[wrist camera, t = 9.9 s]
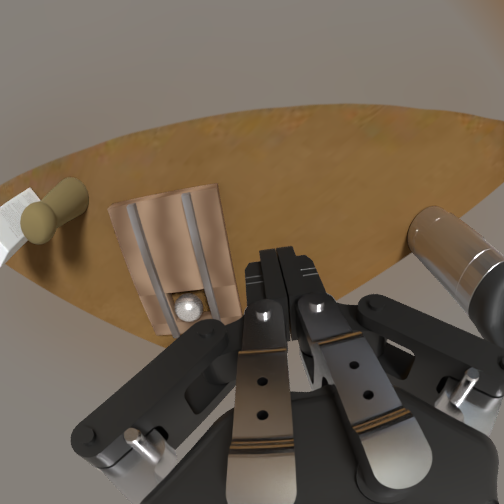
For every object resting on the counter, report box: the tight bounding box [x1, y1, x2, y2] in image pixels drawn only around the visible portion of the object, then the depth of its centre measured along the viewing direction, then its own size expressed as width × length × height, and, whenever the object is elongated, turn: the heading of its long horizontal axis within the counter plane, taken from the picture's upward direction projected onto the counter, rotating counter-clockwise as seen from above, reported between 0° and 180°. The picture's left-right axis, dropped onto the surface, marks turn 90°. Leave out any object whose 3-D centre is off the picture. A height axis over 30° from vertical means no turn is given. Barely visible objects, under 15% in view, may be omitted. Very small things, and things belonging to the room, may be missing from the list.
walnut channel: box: [108, 183, 243, 338], centre depth 41 cm, size 15×23×3 cm, turn 7°
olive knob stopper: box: [20, 177, 89, 245], centre depth 31 cm, size 6×6×11 cm
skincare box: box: [0, 188, 41, 267], centre depth 30 cm, size 6×4×12 cm
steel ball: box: [175, 293, 203, 322], centre depth 43 cm, size 4×4×4 cm
